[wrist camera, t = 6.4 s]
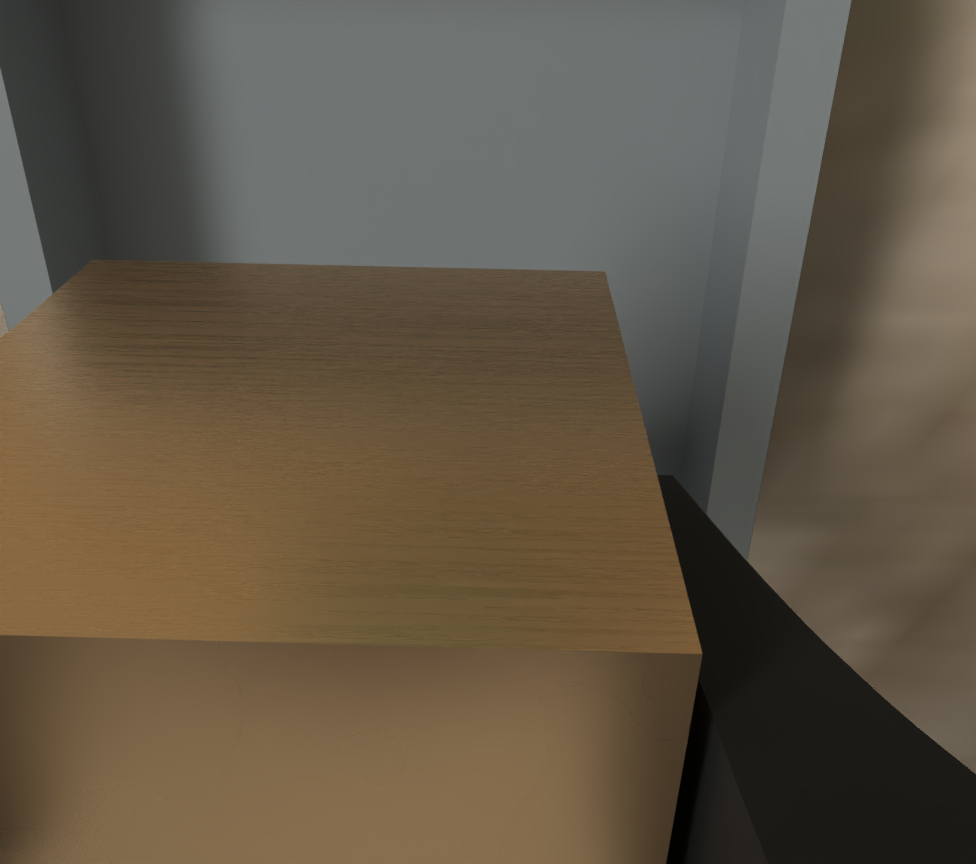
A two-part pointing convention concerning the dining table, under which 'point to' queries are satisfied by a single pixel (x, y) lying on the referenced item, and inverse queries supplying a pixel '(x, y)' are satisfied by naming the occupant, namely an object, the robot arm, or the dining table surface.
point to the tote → (450, 167)
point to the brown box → (334, 572)
